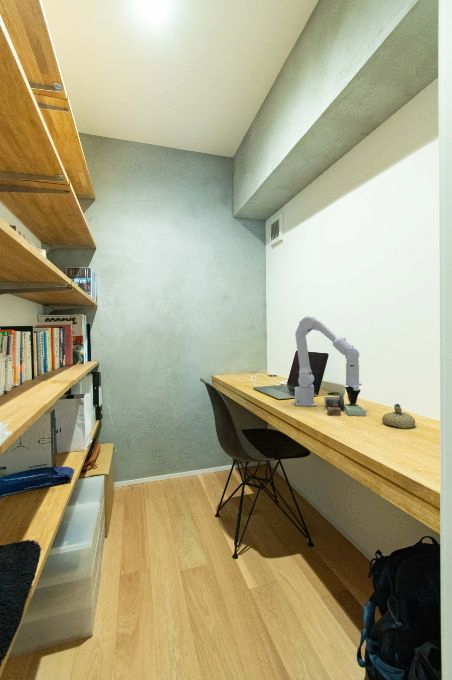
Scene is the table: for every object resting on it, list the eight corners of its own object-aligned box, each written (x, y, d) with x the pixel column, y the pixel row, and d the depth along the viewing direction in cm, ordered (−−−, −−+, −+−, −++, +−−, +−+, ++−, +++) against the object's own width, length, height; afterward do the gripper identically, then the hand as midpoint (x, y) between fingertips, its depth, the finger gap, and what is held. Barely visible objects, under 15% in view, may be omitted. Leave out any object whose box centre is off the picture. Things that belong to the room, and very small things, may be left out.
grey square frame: (347, 410, 143) (347, 406, 143) (344, 407, 149) (344, 403, 148) (360, 410, 142) (360, 406, 142) (357, 407, 148) (357, 404, 148)
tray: (348, 415, 134) (348, 409, 134) (344, 411, 141) (344, 405, 141) (366, 416, 132) (366, 410, 132) (361, 411, 140) (361, 406, 140)
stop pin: (349, 409, 144) (349, 394, 144) (348, 407, 147) (348, 393, 147) (356, 409, 144) (356, 394, 143) (355, 407, 147) (355, 393, 146)
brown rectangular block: (328, 415, 134) (328, 409, 134) (327, 413, 138) (327, 407, 138) (340, 416, 134) (340, 409, 134) (338, 414, 137) (338, 407, 137)
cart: (327, 410, 143) (327, 395, 143) (324, 405, 152) (324, 391, 152) (345, 410, 142) (345, 395, 141) (341, 405, 151) (341, 391, 151)
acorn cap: (419, 425, 121) (400, 404, 126) (419, 422, 112) (398, 399, 118) (397, 439, 123) (379, 418, 128) (395, 437, 114) (376, 414, 120)
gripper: (365, 376, 137) (365, 406, 137) (357, 372, 151) (357, 399, 152) (349, 376, 138) (349, 406, 139) (342, 372, 153) (342, 399, 153)
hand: (352, 402), depth 145 cm, fingers closed on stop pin, 3 cm apart
